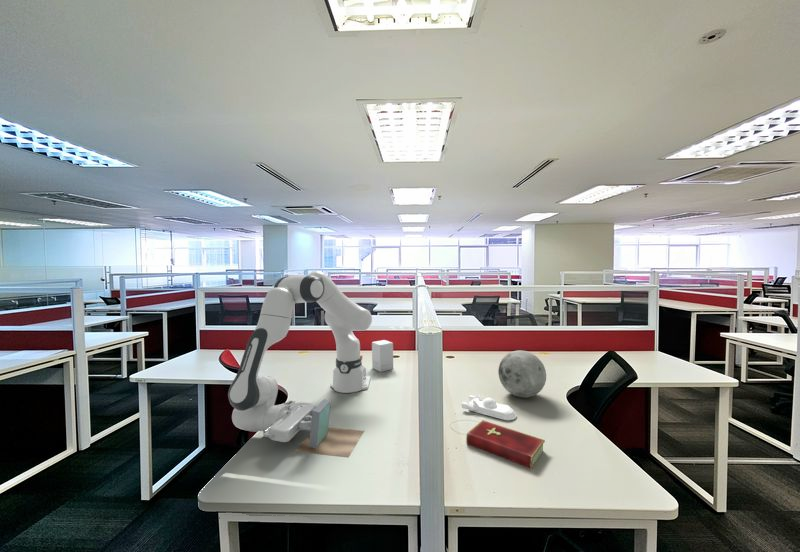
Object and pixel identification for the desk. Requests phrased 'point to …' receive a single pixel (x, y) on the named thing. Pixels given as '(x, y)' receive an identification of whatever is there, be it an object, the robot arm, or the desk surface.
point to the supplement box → (382, 355)
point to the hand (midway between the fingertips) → (316, 423)
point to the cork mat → (334, 443)
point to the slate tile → (319, 423)
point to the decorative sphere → (522, 373)
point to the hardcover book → (506, 443)
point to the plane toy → (489, 408)
